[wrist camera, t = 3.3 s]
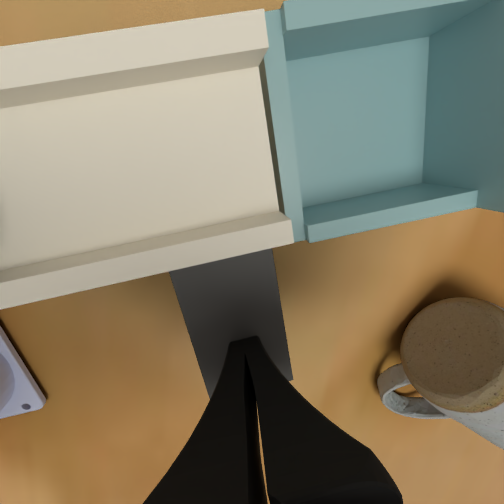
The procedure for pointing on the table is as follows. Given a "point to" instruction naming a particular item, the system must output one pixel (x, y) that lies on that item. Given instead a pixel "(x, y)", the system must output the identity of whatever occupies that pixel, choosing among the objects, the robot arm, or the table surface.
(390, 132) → the bin
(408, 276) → the table surface
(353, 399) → the table surface
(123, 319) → the table surface
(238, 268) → the cream piece
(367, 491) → the robot arm
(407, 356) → the ceramic mug
